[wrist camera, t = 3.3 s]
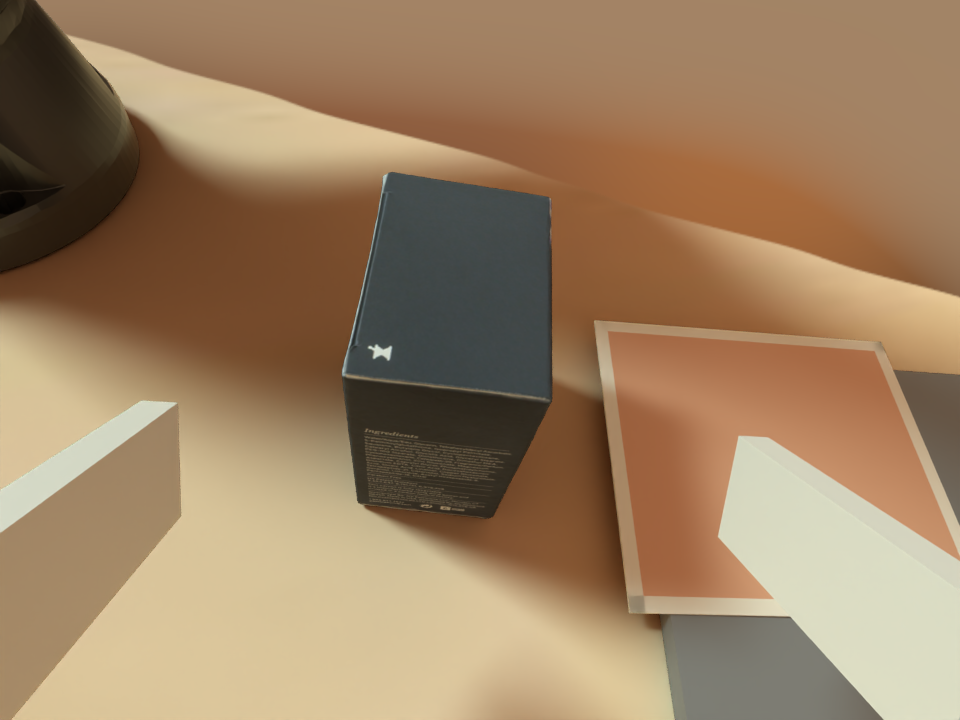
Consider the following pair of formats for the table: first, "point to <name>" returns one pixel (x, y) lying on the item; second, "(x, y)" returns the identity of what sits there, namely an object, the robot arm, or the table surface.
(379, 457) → the box
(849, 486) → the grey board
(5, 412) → the table surface
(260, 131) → the table surface
